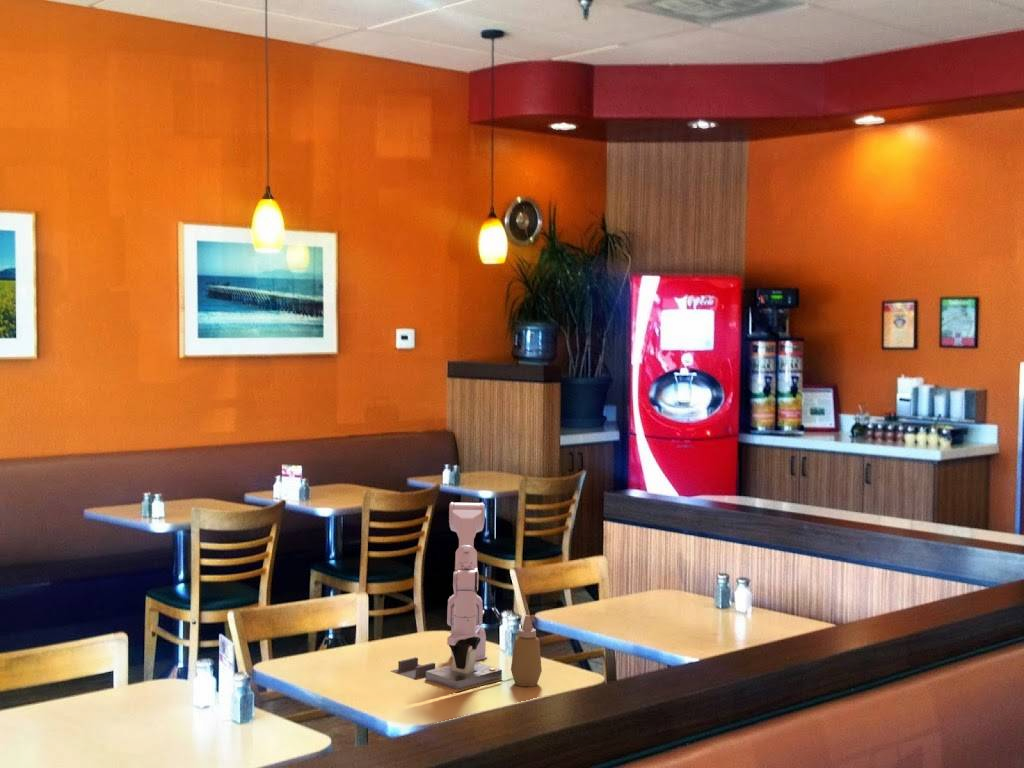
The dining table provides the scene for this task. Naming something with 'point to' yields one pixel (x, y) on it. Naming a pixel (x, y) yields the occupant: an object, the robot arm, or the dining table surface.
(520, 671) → the squeeze bottle
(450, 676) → the port block
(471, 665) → the plug
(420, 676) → the dark grey holder base
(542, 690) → the dining table surface
